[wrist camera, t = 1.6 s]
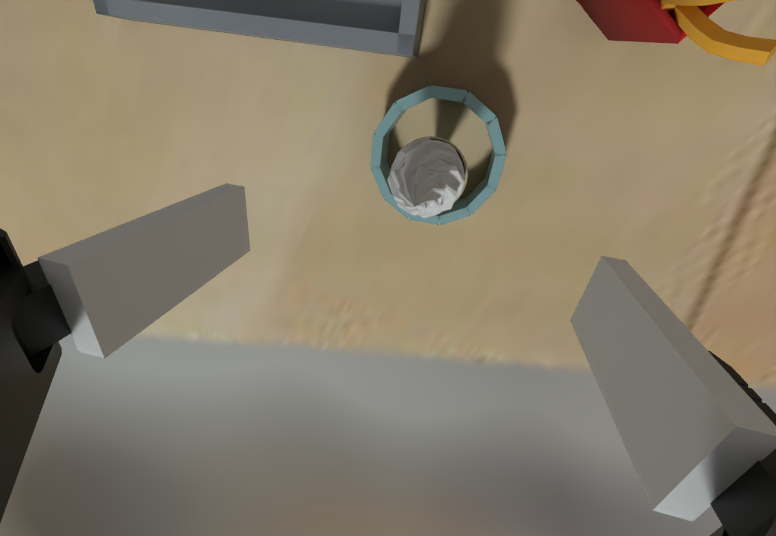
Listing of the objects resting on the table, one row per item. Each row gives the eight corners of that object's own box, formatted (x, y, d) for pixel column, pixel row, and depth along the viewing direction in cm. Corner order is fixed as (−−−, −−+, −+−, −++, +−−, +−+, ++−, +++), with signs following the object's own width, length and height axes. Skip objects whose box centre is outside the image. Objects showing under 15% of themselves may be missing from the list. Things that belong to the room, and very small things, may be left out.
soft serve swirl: (427, 112, 29) (396, 134, 16) (478, 143, 29) (489, 190, 16) (399, 165, 31) (352, 222, 18) (447, 193, 31) (434, 268, 18)
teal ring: (374, 201, 33) (366, 211, 31) (387, 78, 28) (378, 77, 25) (482, 221, 32) (483, 233, 29) (517, 97, 27) (522, 98, 24)
